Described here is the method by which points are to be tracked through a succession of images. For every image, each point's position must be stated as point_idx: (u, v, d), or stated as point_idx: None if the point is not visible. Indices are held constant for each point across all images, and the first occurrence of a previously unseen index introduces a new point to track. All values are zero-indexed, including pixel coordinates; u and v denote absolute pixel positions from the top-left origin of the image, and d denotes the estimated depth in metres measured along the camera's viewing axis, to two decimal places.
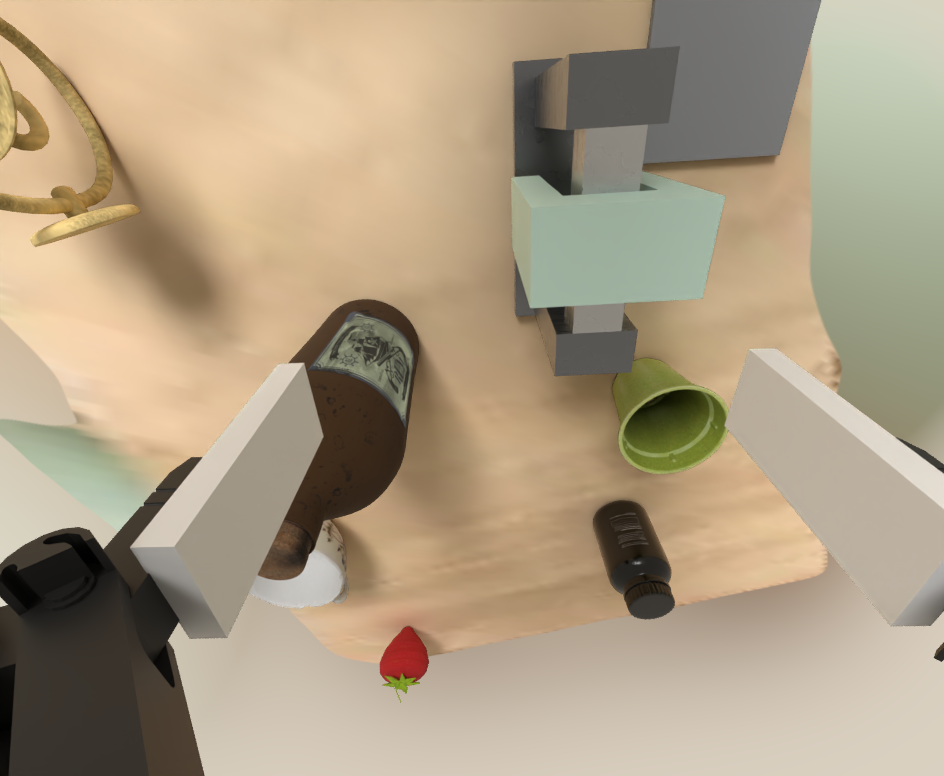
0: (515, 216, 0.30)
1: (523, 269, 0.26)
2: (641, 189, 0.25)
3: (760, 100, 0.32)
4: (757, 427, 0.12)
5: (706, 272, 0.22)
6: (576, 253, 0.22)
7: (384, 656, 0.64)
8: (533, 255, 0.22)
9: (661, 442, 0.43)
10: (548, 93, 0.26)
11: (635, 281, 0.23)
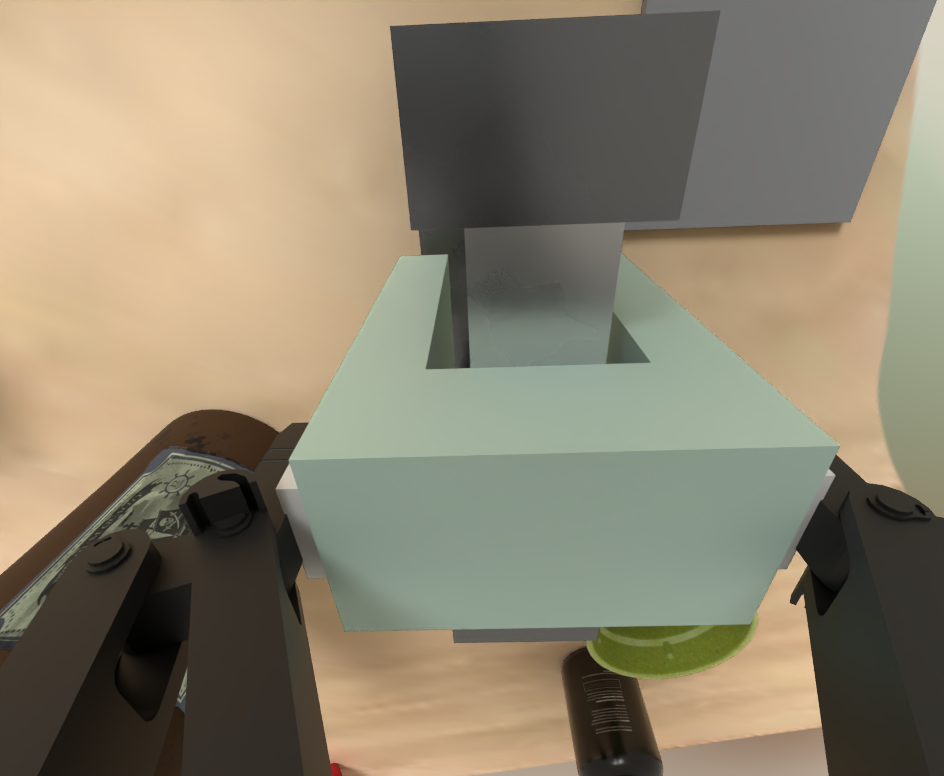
0: None
1: None
2: (616, 327, 0.12)
3: (827, 134, 0.19)
4: None
5: (765, 584, 0.09)
6: (435, 547, 0.08)
7: None
8: (325, 549, 0.08)
9: None
10: None
11: (589, 595, 0.09)
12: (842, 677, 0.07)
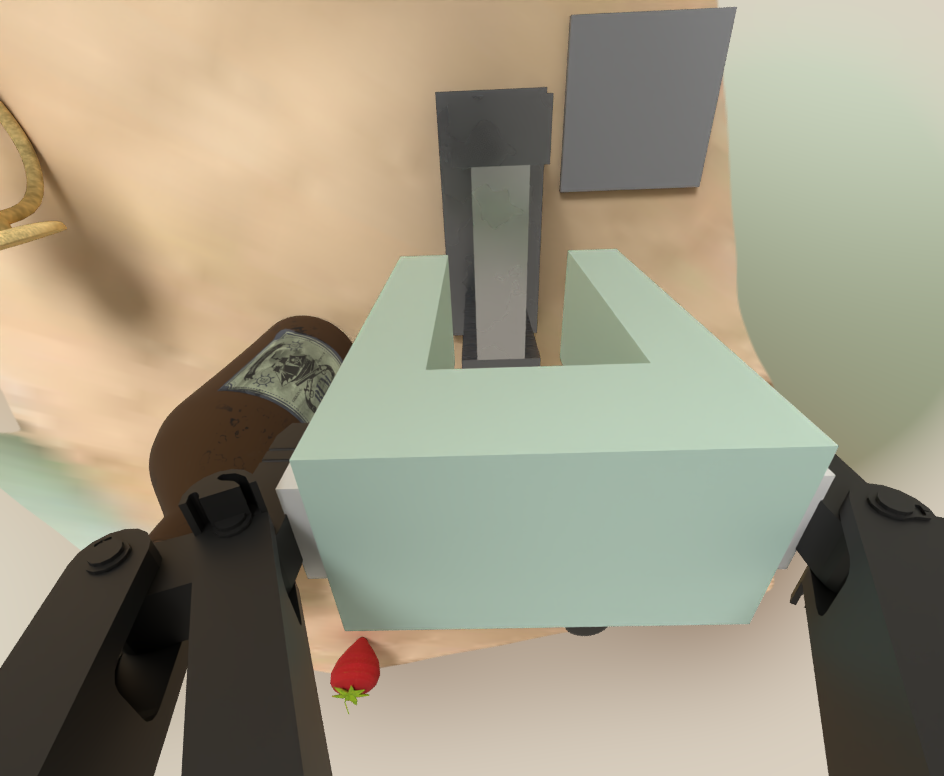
0: None
1: None
2: (615, 328, 0.12)
3: (677, 134, 0.33)
4: None
5: (764, 584, 0.09)
6: (436, 546, 0.08)
7: (335, 667, 0.64)
8: (325, 549, 0.08)
9: None
10: None
11: (589, 595, 0.09)
12: (842, 677, 0.07)
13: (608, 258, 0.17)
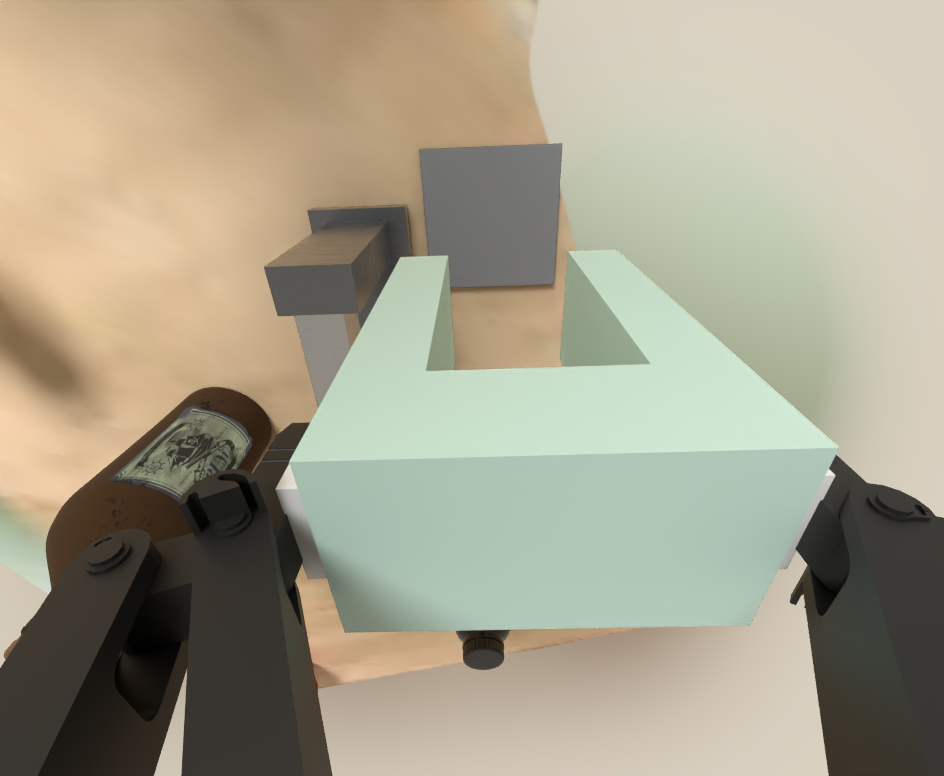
0: None
1: None
2: (616, 329, 0.12)
3: (527, 242, 0.38)
4: None
5: (765, 585, 0.09)
6: (436, 549, 0.08)
7: None
8: (326, 550, 0.08)
9: None
10: None
11: (590, 597, 0.09)
12: (842, 677, 0.07)
13: (608, 259, 0.17)
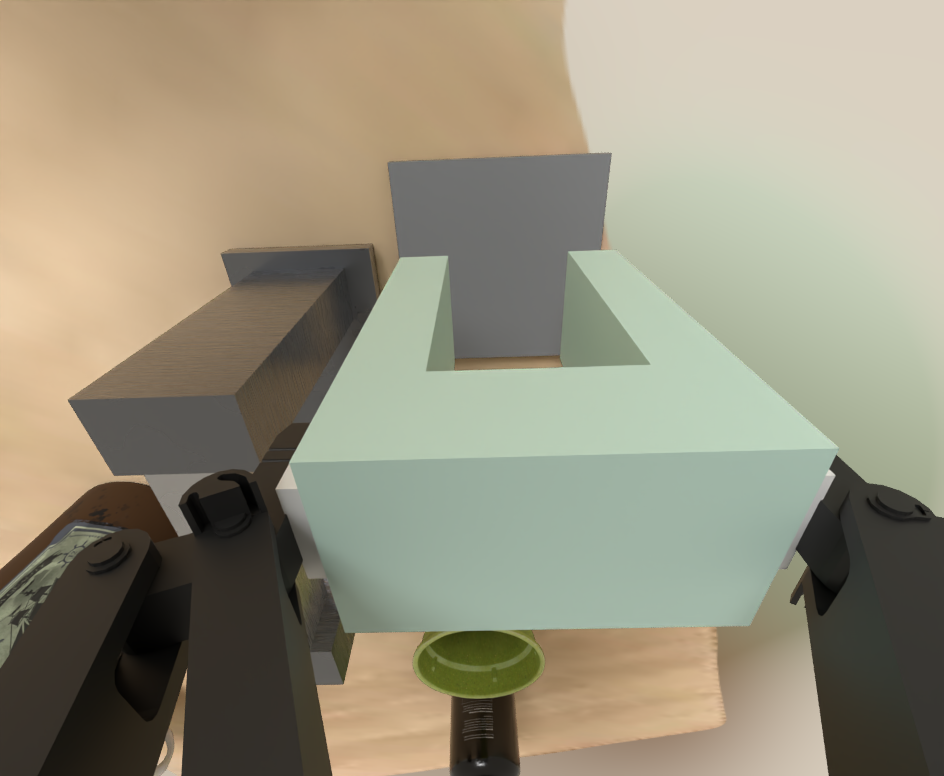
0: None
1: None
2: (616, 329, 0.12)
3: (552, 298, 0.25)
4: None
5: (765, 586, 0.09)
6: (436, 549, 0.08)
7: None
8: (326, 551, 0.08)
9: (488, 647, 0.36)
10: None
11: (589, 597, 0.09)
12: (842, 677, 0.07)
13: (608, 259, 0.17)
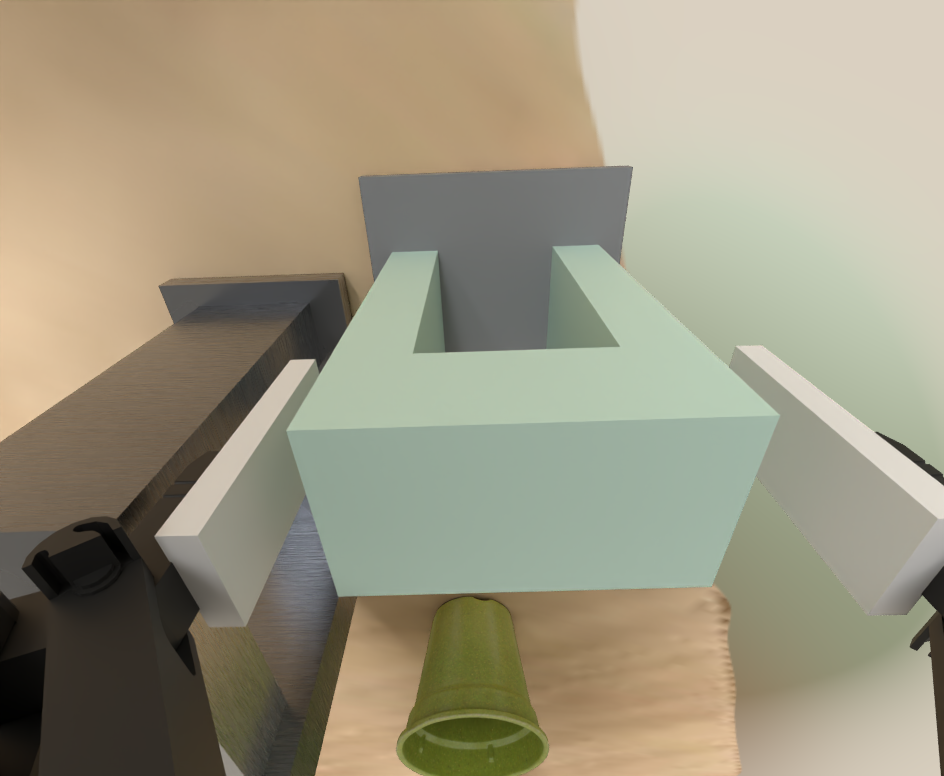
0: None
1: None
2: (592, 317, 0.13)
3: None
4: None
5: (723, 547, 0.10)
6: (421, 513, 0.09)
7: None
8: (320, 516, 0.09)
9: (484, 718, 0.32)
10: None
11: (563, 559, 0.10)
12: None
13: (590, 253, 0.18)
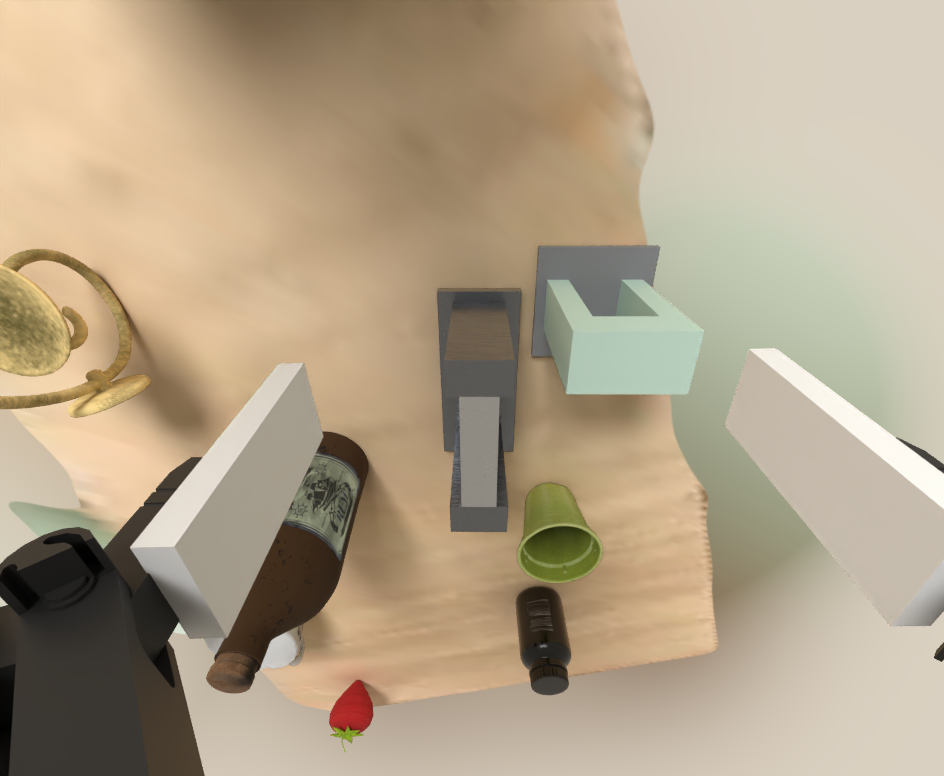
0: (551, 313, 0.39)
1: (559, 360, 0.35)
2: (647, 308, 0.35)
3: None
4: (757, 428, 0.12)
5: (690, 377, 0.32)
6: (602, 360, 0.31)
7: (334, 708, 0.72)
8: (572, 360, 0.31)
9: (558, 554, 0.53)
10: None
11: (641, 380, 0.32)
12: None
13: (640, 283, 0.40)
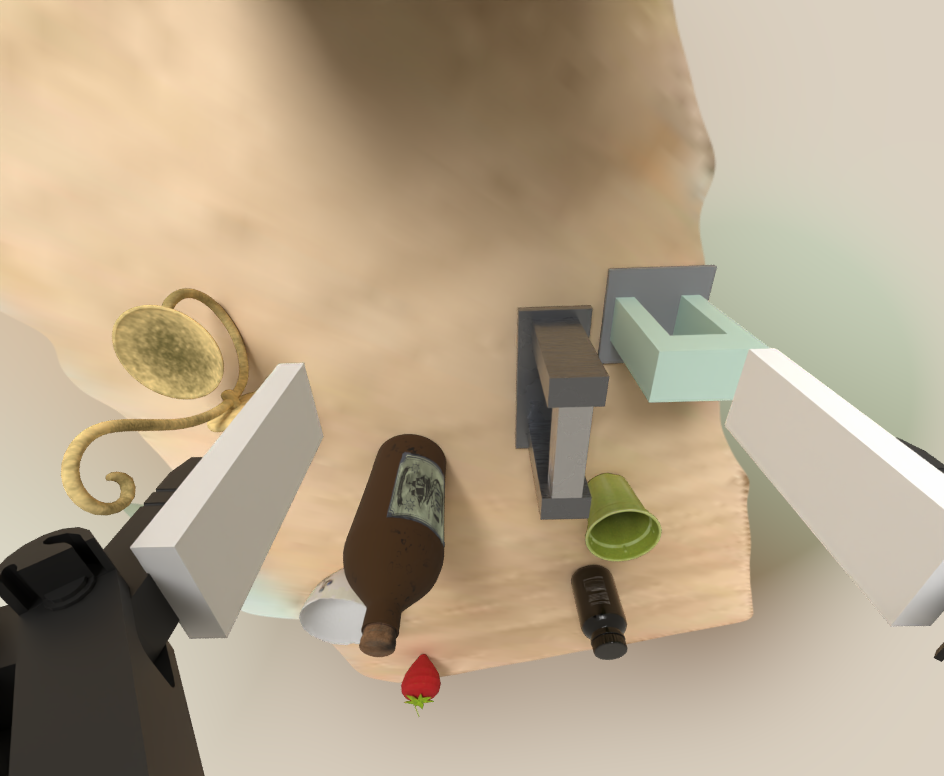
0: (623, 328, 0.45)
1: (637, 372, 0.41)
2: (712, 325, 0.41)
3: None
4: (757, 427, 0.12)
5: None
6: (681, 374, 0.37)
7: (405, 679, 0.80)
8: (656, 375, 0.37)
9: (618, 535, 0.60)
10: (539, 357, 0.43)
11: (713, 389, 0.38)
12: None
13: (699, 299, 0.46)
